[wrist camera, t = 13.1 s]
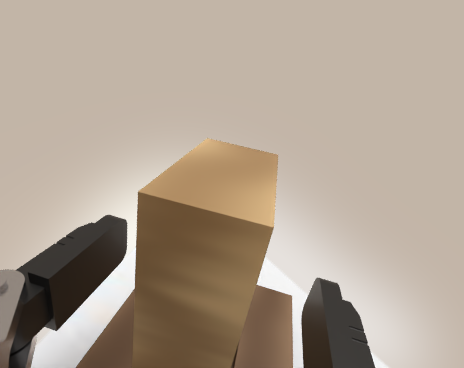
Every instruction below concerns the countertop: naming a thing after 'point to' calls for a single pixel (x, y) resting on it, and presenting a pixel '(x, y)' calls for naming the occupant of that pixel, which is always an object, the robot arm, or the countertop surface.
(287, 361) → the base board
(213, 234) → the plank
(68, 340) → the countertop surface
